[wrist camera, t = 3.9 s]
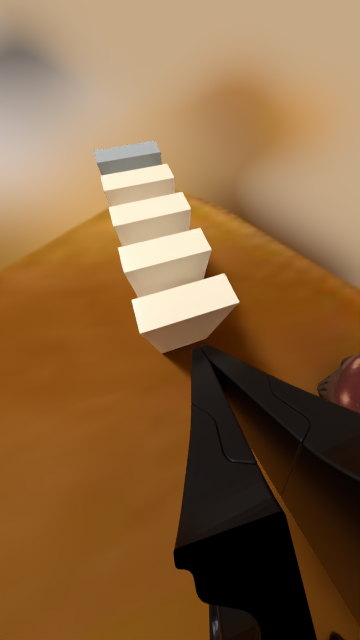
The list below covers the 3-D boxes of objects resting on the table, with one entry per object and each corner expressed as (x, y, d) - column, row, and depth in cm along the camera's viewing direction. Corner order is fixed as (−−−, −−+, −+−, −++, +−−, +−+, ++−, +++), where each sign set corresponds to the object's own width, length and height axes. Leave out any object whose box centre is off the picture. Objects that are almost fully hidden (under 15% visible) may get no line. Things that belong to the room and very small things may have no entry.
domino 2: (176, 264, 21) (174, 177, 11) (138, 274, 20) (104, 191, 11) (172, 254, 21) (167, 163, 12) (135, 263, 21) (100, 175, 11)
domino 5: (206, 338, 17) (239, 302, 8) (161, 353, 17) (139, 333, 7) (200, 323, 18) (224, 273, 8) (157, 337, 17) (131, 299, 8)
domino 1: (168, 245, 22) (160, 152, 13) (132, 253, 21) (96, 162, 12) (164, 235, 23) (154, 140, 13) (130, 244, 22) (93, 150, 13)
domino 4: (194, 310, 18) (211, 249, 9) (153, 323, 18) (124, 272, 8) (189, 297, 19) (200, 227, 10) (149, 309, 18) (117, 247, 9)
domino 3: (185, 285, 20) (191, 208, 10) (145, 297, 19) (113, 226, 10) (180, 274, 20) (182, 191, 11) (142, 284, 20) (108, 207, 10)
